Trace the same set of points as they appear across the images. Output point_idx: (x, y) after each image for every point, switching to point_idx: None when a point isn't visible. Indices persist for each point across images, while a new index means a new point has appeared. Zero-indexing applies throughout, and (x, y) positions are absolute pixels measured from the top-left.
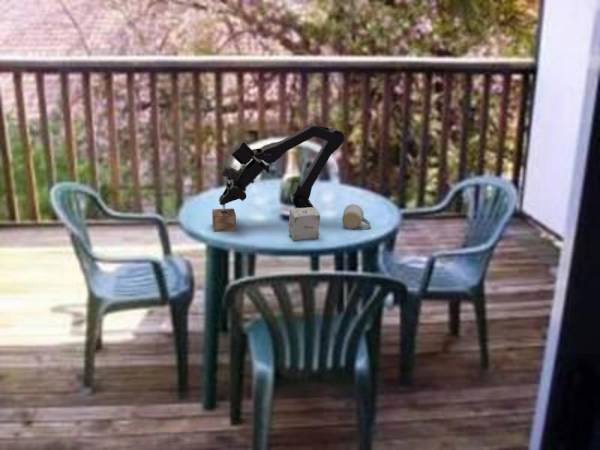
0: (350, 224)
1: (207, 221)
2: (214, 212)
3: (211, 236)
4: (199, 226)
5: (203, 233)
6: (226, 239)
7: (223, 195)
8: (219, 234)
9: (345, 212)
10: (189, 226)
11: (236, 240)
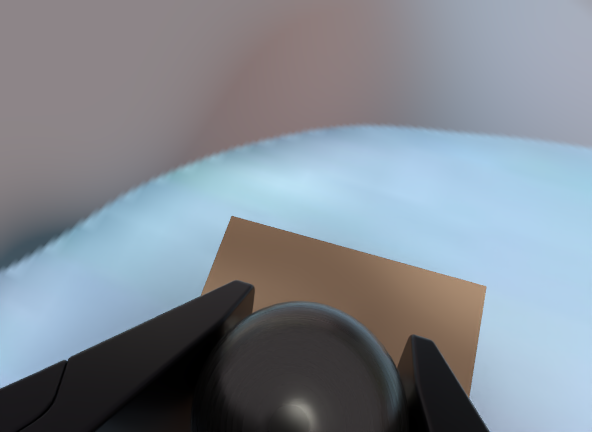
0: None
1: (534, 300)
2: (345, 264)
3: (176, 206)
4: (420, 199)
5: (259, 178)
6: (65, 278)
7: (253, 401)
8: (184, 271)
9: None
10: (444, 137)
11: (4, 338)
